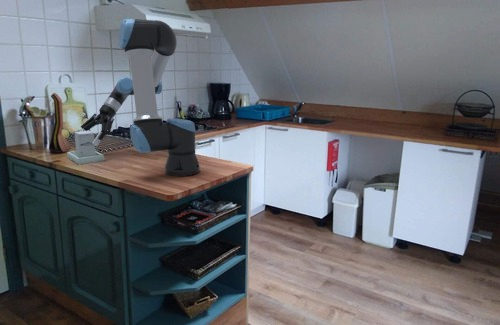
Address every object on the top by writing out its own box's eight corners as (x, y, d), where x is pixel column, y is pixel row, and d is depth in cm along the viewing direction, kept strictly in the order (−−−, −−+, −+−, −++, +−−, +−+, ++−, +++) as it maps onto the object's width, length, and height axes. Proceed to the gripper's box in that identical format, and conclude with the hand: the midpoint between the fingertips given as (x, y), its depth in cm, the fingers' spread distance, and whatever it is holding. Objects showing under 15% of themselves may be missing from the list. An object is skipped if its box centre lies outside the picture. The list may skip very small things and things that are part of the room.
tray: (104, 160, 189) (103, 155, 188) (78, 164, 181) (77, 158, 180) (92, 154, 200) (91, 148, 200) (67, 157, 193) (67, 152, 192)
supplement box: (80, 160, 185) (77, 134, 182) (76, 157, 191) (73, 131, 188) (96, 158, 190) (94, 132, 186) (92, 155, 195) (90, 130, 192)
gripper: (130, 115, 194) (107, 150, 186) (99, 111, 207) (76, 143, 199) (121, 105, 188) (96, 141, 180) (89, 101, 202) (65, 135, 194)
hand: (85, 142), depth 190 cm, fingers open, 13 cm apart
